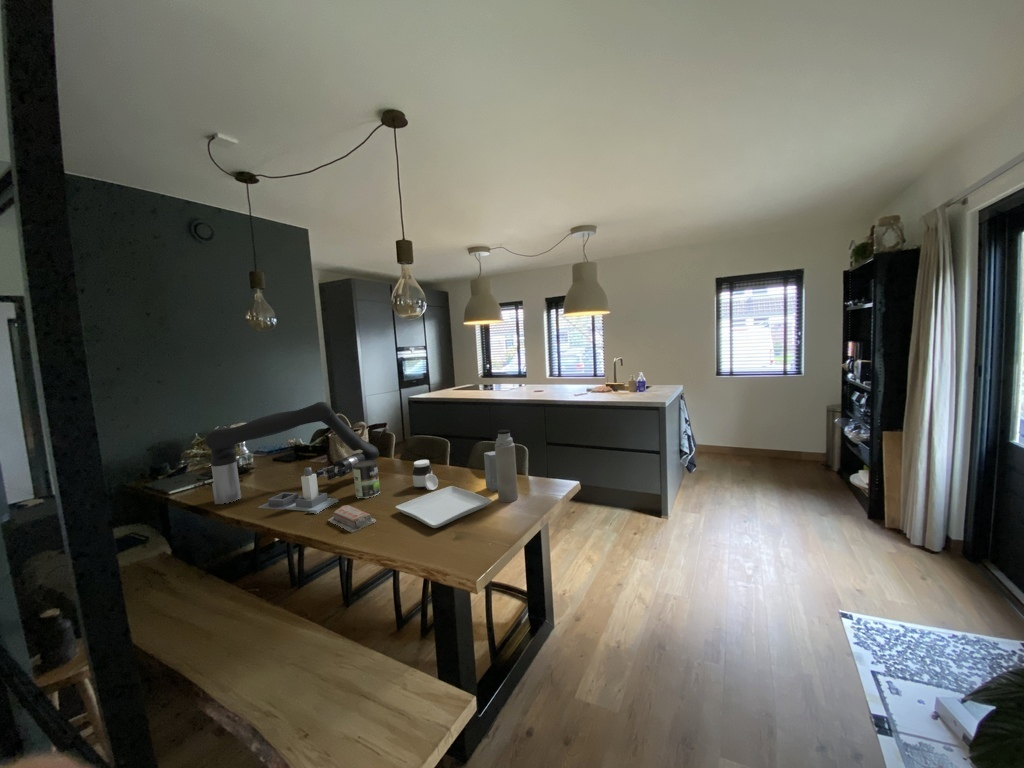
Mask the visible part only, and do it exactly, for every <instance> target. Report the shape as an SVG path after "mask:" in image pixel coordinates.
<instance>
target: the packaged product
mask: <svg viewBox="0 0 1024 768" xmlns="http://www.w3.org/2000/svg"><path fill="white" fill-rule="evenodd" d="M327 521H328V522H329V521H330V522H329V523H331V524H334V525H335V524H336V525H335V526H337V525H338V526H337V527H339V526H340V527H341V529H342V528H344V529H343V530H344V531H348V532H349V533H352V534H353V533H355V532H357V531H360V530H362V528H363V529H365V528H367V527H369V526H368V525H370V524H372V523H374V524H376V523H377V520H376V518H374V517H372V516H371V514H370V513H368V512H366V511H363V510H361V509H359V508H357V507H354V506H351V505H349V504H347V505H345V504H344V505H342V506H340V507H339V508H337V509H335V510H334V511H333V512H332V517H330V518H327ZM375 522H376V523H375ZM372 525H373V524H372ZM366 526H367V527H366ZM370 526H371V525H370ZM340 527H339V528H340ZM364 527H365V528H364Z"/></svg>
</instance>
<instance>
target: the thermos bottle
mask: <svg viewBox="0 0 1024 768" xmlns="http://www.w3.org/2000/svg"><path fill="white" fill-rule="evenodd" d="M494 451H495V458H496V472H497V486H498V490H497V498H498V499H497V500H498V501H500V502H502V503H511V502H515V501H517V500H518V499H519V490H518V475H517V474H518V473H517V462H516V447H515V443H514V441H513V437H511V430H510V429H500V430H498V431H497V438H496V439H495V444H494Z"/></svg>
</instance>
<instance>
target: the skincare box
mask: <svg viewBox="0 0 1024 768" xmlns="http://www.w3.org/2000/svg"><path fill="white" fill-rule="evenodd" d="M483 459H484V460H483V461H484V475H485V488H487V490H490V492H491V493H492V492H498V486H497V472H496V458H495V450H494V451H487V452H484V453H483Z"/></svg>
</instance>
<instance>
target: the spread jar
mask: <svg viewBox="0 0 1024 768" xmlns="http://www.w3.org/2000/svg"><path fill="white" fill-rule="evenodd" d="M411 477H412V484H413V487H414V489H416V490H420V491H421V490H426V489H427V491H434V490H436V489H437V488H438V486H439V480H438V477H437V476H436V475H435V474H433V469H432V466H431V465H430V460H429V459H420V460H416V461H414V462H413V469H412V476H411Z"/></svg>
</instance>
